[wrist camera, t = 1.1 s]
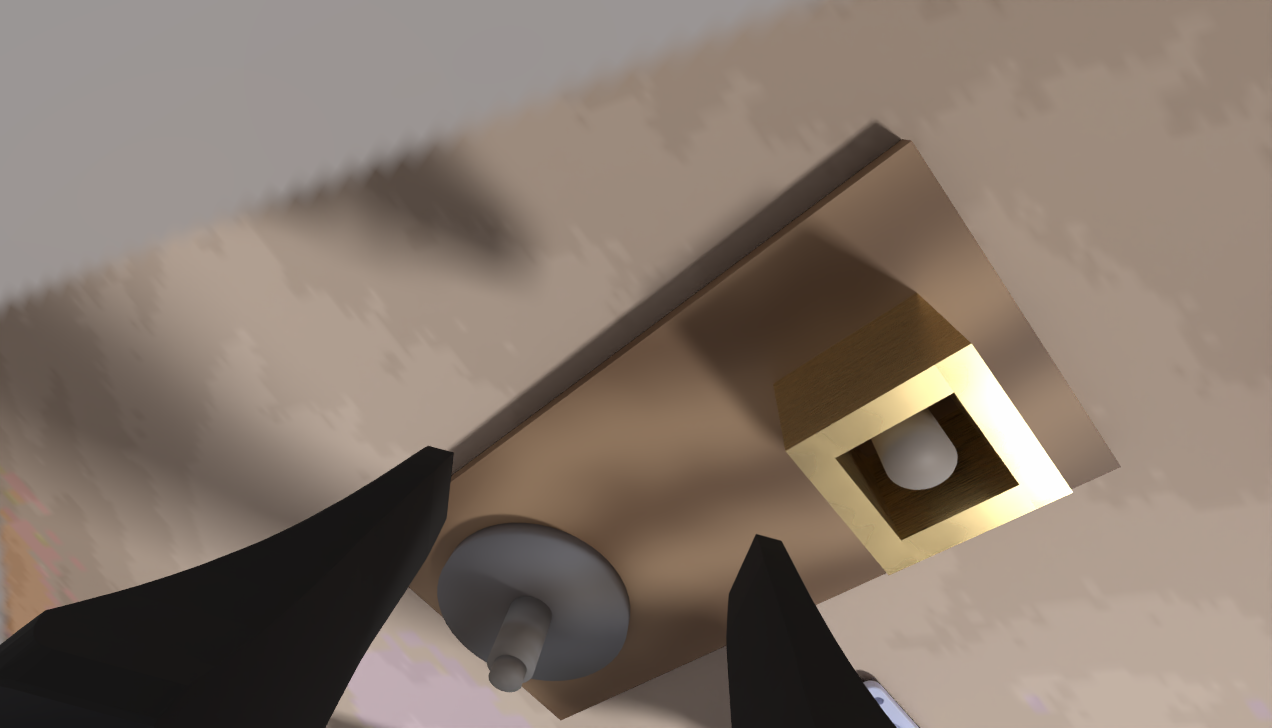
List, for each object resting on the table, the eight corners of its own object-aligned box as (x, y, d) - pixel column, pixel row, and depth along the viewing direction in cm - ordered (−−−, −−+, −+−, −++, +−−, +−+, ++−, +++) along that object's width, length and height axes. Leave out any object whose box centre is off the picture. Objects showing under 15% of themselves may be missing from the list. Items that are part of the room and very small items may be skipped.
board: (1103, 451, 21) (1214, 549, 16) (565, 702, 31) (537, 808, 26) (902, 139, 18) (966, 149, 13) (374, 533, 28) (303, 618, 23)
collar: (1001, 414, 20) (1073, 492, 16) (857, 489, 22) (888, 575, 18) (916, 292, 19) (971, 343, 14) (773, 383, 21) (785, 451, 16)
